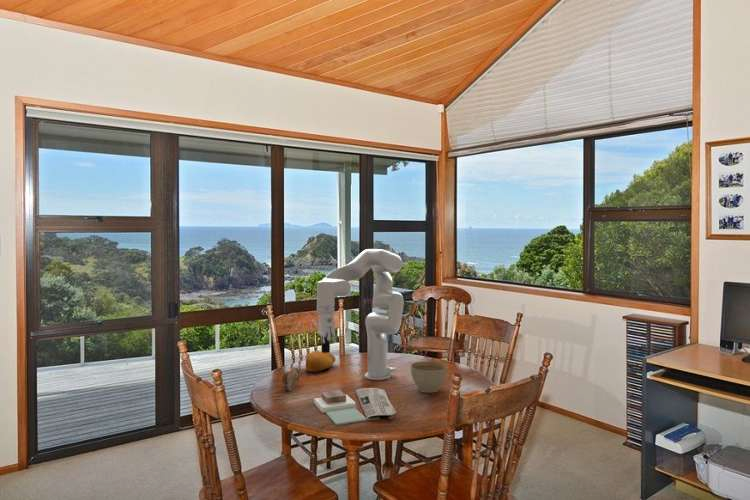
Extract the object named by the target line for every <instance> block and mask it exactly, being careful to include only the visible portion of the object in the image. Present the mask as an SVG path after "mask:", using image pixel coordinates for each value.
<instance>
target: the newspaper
mask: <svg viewBox="0 0 750 500" xmlns="http://www.w3.org/2000/svg"><path fill="white" fill-rule="evenodd" d="M355 394H356V396H357V398H358V401H359V403H360V406H361V409H362V411H363V413H364V417H365V418H367V420H366V421H367V422H368V421H376V420H378V421H379V420H381V419H380V416H387V418H388V419H389V420H393V419H394V418H395V414H396V413H397V411H396V409H395V408H394V406H393V404H392V403H391V401H390V400H389V397H388V394H387V393H386V390H385V389H381V388H378V387H368V388H367V387H363V388H359V389H356V390H355Z"/></svg>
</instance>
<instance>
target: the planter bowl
mask: <svg viewBox="0 0 750 500" xmlns="http://www.w3.org/2000/svg"><path fill="white" fill-rule="evenodd" d="M410 373H411V374H410V375H411V378H412V380H413V383H414V384H415V385H416V387H417V390H418V391H419V392H421V393H429V394H431V393H437V392H439V391H440V388H441V387H442V385H443V383H444V381H445V379H446V376H447V365H446V364H444V363H441V362H438V361H427V360H426V361H425V360H423V361H416V362H413V363H411V364H410Z"/></svg>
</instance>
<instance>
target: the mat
mask: <svg viewBox="0 0 750 500" xmlns="http://www.w3.org/2000/svg"><path fill="white" fill-rule="evenodd" d="M325 415H327V417H328V418H329V419H330V420H331V421H332V422H333V424H334V425H336V426H340V425H346V424H352V423H358V422H366V421H367V420H368V419H367V418H366V416H365V415H363V414H362V413H361V412H360V411H359V410H358V409H357V407H356V408H355V407H351V408H344V409H337V410H330V411H325Z"/></svg>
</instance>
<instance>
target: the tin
mask: <svg viewBox="0 0 750 500" xmlns="http://www.w3.org/2000/svg"><path fill="white" fill-rule="evenodd" d="M281 381H282V389H283V390H284V391H289V392H290V391H292V390H294V388H295V387H297V386H298V385H299V381H300V372H299V368H298V367H297V366H296V367H290V368H289V369H288V370H286V371H285V372H284V373H283V374H282V379H281Z"/></svg>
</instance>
